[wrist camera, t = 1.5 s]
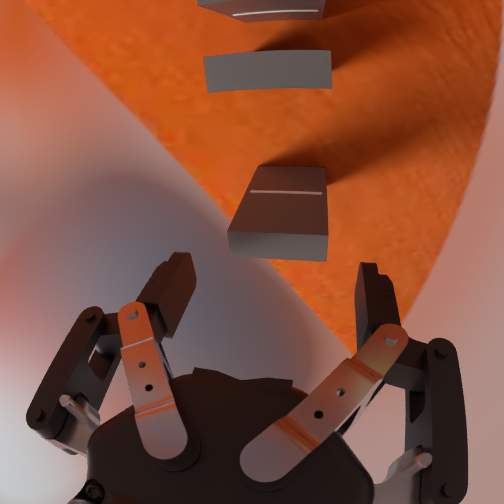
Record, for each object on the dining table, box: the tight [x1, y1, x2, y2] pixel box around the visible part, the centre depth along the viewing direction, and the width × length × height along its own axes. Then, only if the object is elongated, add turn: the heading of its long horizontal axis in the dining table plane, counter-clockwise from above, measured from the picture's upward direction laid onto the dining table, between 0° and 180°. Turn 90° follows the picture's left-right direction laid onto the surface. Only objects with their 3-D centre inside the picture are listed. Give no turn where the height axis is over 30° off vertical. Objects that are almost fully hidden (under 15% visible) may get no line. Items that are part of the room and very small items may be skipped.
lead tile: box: [227, 166, 328, 262], centre depth 19 cm, size 2×5×9 cm, turn 94°
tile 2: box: [204, 50, 332, 93], centre depth 14 cm, size 2×5×9 cm, turn 95°
